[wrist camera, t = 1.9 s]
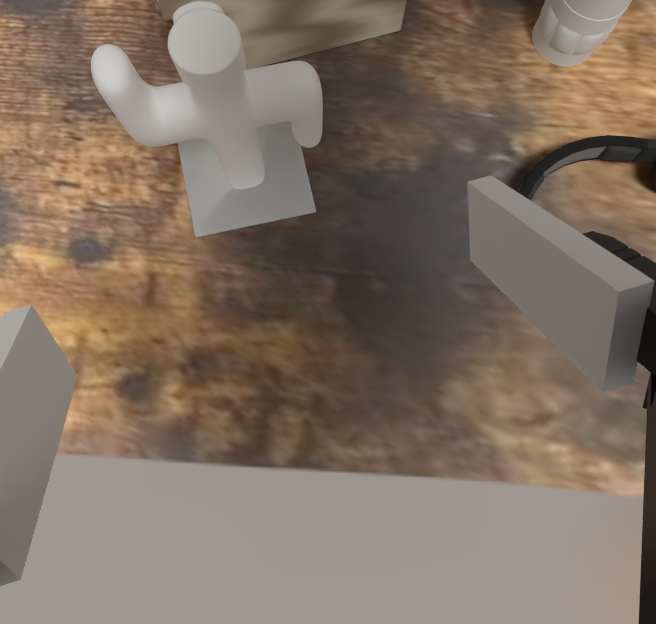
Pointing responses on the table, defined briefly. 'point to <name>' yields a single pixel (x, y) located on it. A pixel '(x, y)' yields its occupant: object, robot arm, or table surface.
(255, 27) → the bridge shelf
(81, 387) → the table surface
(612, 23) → the binoculars
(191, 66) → the figurine
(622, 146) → the headset
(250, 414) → the table surface
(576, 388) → the table surface
